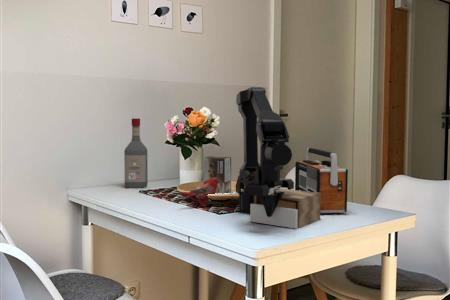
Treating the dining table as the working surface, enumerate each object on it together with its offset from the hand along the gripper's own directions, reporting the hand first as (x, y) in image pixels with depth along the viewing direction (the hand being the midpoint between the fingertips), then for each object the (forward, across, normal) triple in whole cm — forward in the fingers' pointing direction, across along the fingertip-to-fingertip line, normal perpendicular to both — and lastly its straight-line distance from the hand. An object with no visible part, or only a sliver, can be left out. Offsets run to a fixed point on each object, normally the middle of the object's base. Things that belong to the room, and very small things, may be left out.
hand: (269, 216), depth 139 cm
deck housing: (+3, -11, 0) cm, 11 cm away
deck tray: (+3, -9, 0) cm, 9 cm away
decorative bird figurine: (+3, -11, -34) cm, 36 cm away
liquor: (+3, -31, -86) cm, 91 cm away
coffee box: (+3, -27, -38) cm, 47 cm away
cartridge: (+2, -10, 0) cm, 10 cm away
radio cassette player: (+3, -37, -2) cm, 37 cm away
